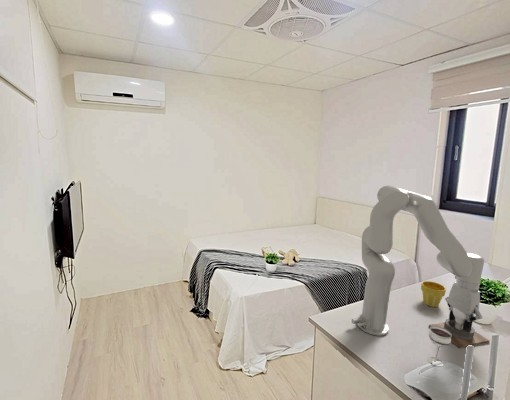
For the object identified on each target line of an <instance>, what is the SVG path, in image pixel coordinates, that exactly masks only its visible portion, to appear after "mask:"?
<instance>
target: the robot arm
mask: <svg viewBox="0 0 510 400" xmlns="http://www.w3.org/2000/svg"><path fill="white" fill-rule="evenodd" d="M376 197H377V198H376V199H377V201H378V202H376V204H375V205H374V206H373V207H372V210H371V212H370V217H369V225H368V226H367V227H366V228H364V229H363V232H362V234H361V260H362V264H363V265H364V267H365V268H366V269H367V271H368V277H367V279H366V283H365V288H364V295H363V296H364V297H363V303H362V312H361V314H359V317H357V318H351V323H352V324H353V325H355V324H357V326H358V328H360V330H362V331H363V332H365V333H367V334H369V335H373V336H378V337H379V336H382V337H383V336H385V335H388V333H389V331H390V328H389V326H388V324H387V323H386V322H387V318H388V317H387V316H388V309H389V303H390V297H391V296H390V294H391V289H392V288H391V287H392V285H393V281H394V278H395V274H396V269H395V268H396V267H395V265H394V263H393V262H392V260H391V259H390V258H389V257H387V256H386V254H389V253H390V252H391V250H393V249H392V248H393V243H394V241H393V235H394V233H393V232H394V231H393V229H394V227H393V225H394V218H395V217H396V215H397V214H398V213H399V212H400V211H404V212H408V213H410V214H412V215H413V216H414V217H415V220H416V222H417V223H418V225H419V227H420V228H421V231H422V232H423V234H424V236H425V238H426V239H427V240H428V241H429V242H430V243H431V244H432V245H433V246H435V247H436V249H437V250H438V251H439V252H438V253H437V255H436V261H437V263H438V264H439V266H441V267H442V268H443V269H445V270H446V271H448V272H449V273H451V274H453V276H454V279H455V280H456V281H455V282H453V284H452V286H451V287H450V291H449V294H448V296H446V297H445V298H444V300H445V302H446V304H447V306H448V311H449V315H448V319H449V320H455V316H454V315H453V311H452V310H453V307H454V308H456V309H458V310H459V311H461V312H463V313H464V314H466V318H467V320H465V322H464V327H463V328H464V329H465V330H467V329H471V327H473V322H475V321H478V320H481V319H483V316H482V313H481V312H480V310H479V309H480V300H481V294H480V293H481V292H480V290H479V289H480V284H481V280H482V279H481V278H482V275H483V268H484V265H485V259H484V257H482V256H481V255H479V254H476V253H471V252H467V251H466V250H465V247H464V246H463V244H462V243H461V242H460V240H458V239H457V237H456V236H455V235H454V234H453V232H452V231H451V229H449V227H448V225H447V224H446V221H445V219H444V218H443V216H442V213H441V212H440V209H439V208H438V206H437V204H436V202H435V200H433V199H432V198H431V197H430V196H426V195H423V194H420V193H417V192H413V191H408V190H406V189H403V188H400V187H397V186H393V185H384V186H381V188H379V189H378V191H377V194H376ZM470 315H471V316H470Z"/></svg>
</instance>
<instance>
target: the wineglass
mask: <svg viewBox="0 0 510 400" xmlns="http://www.w3.org/2000/svg"><path fill="white" fill-rule="evenodd" d="M429 329H430V330H429V332H428V338H429V340H430V341H431V343H432V344H434V345H435V346H436V350H435V357H434V356H429V357H427V358H426V359H427V362H428V363H429V362H430V364H431V363H432V362H436V361H441V359H439V358H438V355H439V350H440V348H446V347H448V346H450V344H452V343H451V337H452V334H451V333H450V332H449V331H448V330H446V329H444V328H442V327H438V326H432V327H429Z"/></svg>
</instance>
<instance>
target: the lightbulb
mask: <svg viewBox="0 0 510 400" xmlns="http://www.w3.org/2000/svg"><path fill="white" fill-rule="evenodd" d="M452 311H453V315H454V316H455V321H456V323H455V328H456V329H458V330H462V329H463V325H464V322H465V320H467V318H466V314H464V313H463V312H461V311H459V310H458V309H456V308H454V307H453V310H452ZM470 316H471V315H470Z"/></svg>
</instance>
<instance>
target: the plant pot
mask: <svg viewBox="0 0 510 400" xmlns="http://www.w3.org/2000/svg"><path fill="white" fill-rule="evenodd" d="M420 289H421V292H422V301H423V304H425V305H426V306H429V307H432V308H436V307H439V305H440V304H441V301H442V299H443V297H445V296H446V290H447V289H446V287H445V286H444V285H442V284H441V283H439V282H436V281H429V280H428V281H427V280H424V281H422V282H421V286H420Z"/></svg>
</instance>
